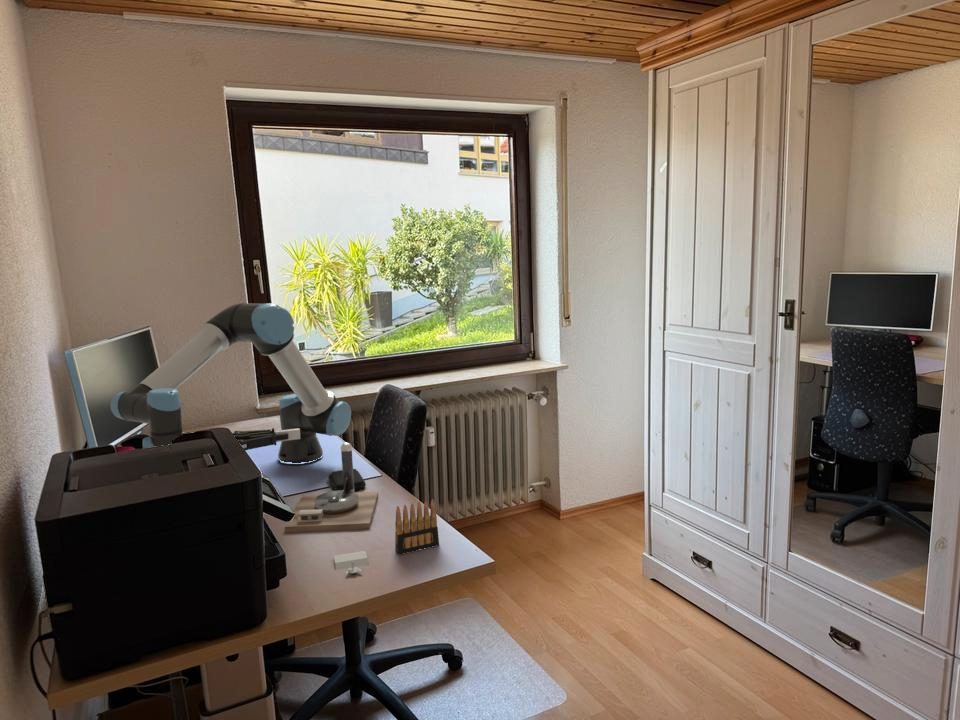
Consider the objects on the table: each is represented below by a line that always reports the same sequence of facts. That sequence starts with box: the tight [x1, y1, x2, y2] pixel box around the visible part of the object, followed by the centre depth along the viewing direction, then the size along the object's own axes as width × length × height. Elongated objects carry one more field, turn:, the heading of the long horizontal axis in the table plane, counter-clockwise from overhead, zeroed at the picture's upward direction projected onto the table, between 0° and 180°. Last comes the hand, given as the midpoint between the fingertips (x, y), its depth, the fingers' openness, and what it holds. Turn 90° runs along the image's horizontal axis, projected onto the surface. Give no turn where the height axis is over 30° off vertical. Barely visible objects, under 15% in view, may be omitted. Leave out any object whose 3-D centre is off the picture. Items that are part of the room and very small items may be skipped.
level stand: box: [284, 491, 379, 533], centre depth 181 cm, size 22×22×4 cm
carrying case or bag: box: [328, 468, 367, 491], centre depth 203 cm, size 11×3×15 cm
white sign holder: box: [333, 550, 369, 577], centre depth 150 cm, size 7×12×2 cm, turn 17°
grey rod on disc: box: [314, 442, 359, 514], centre depth 182 cm, size 15×12×16 cm
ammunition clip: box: [394, 498, 440, 556], centre depth 157 cm, size 11×2×12 cm, turn 114°
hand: (299, 433), depth 182 cm, fingers closed
